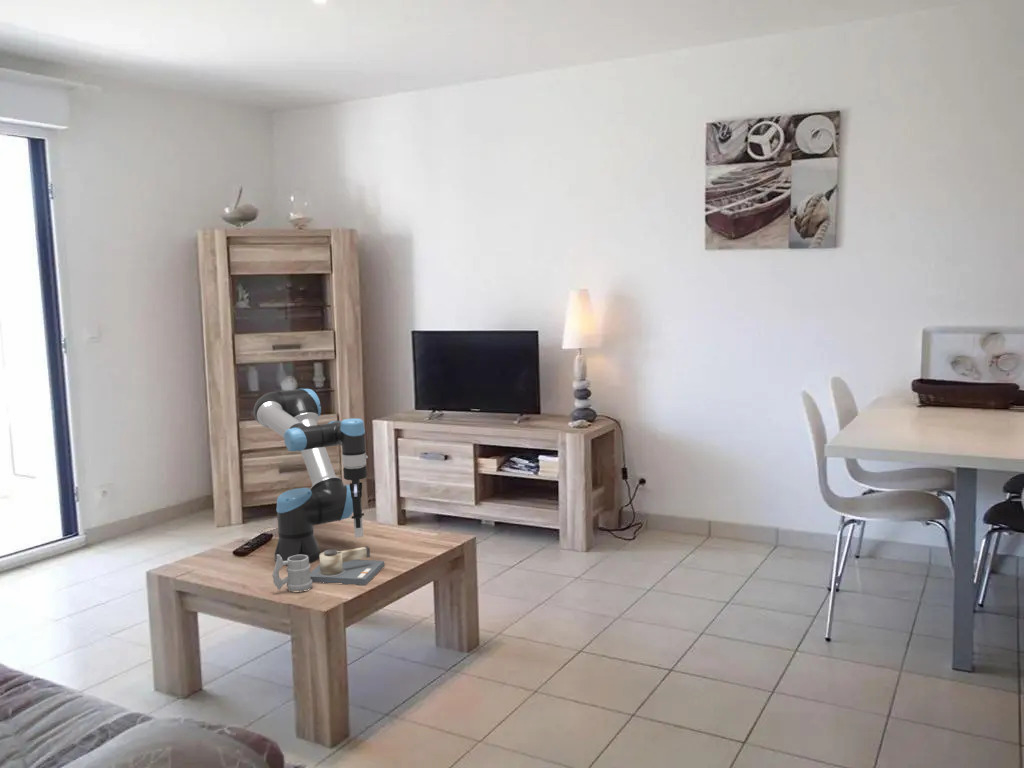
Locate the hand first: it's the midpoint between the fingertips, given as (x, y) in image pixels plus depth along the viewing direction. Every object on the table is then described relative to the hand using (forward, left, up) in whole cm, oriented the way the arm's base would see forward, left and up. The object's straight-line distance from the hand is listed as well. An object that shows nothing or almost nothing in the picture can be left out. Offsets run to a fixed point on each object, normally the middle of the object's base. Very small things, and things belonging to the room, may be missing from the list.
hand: (359, 536), depth 279 cm
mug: (-13, -23, -10) cm, 28 cm away
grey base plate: (-2, -8, -10) cm, 13 cm away
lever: (-1, -9, -8) cm, 12 cm away
